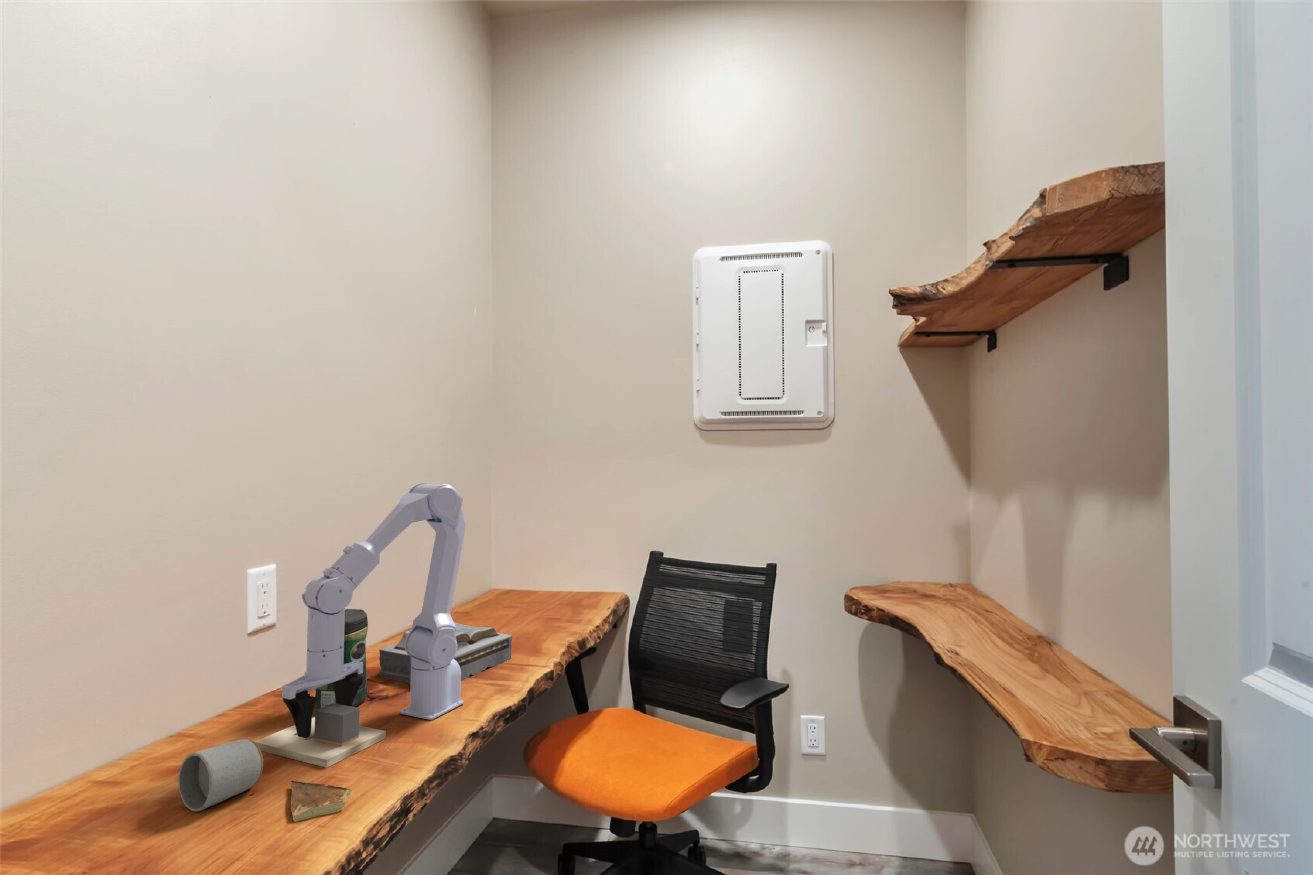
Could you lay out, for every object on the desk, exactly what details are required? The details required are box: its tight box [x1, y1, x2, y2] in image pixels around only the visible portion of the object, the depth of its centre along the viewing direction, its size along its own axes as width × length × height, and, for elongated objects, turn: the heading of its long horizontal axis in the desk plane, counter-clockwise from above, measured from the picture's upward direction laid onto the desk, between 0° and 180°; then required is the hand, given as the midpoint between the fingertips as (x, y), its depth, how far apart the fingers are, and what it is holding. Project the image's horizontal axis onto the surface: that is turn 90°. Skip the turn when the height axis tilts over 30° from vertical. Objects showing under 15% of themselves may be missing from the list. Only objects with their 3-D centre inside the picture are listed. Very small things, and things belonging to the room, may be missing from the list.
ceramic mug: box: [177, 738, 264, 812], centre depth 93 cm, size 11×8×8 cm
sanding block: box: [314, 703, 361, 746], centre depth 109 cm, size 4×6×5 cm, turn 71°
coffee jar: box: [314, 608, 369, 710], centre depth 128 cm, size 10×8×19 cm
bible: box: [378, 621, 513, 684], centre depth 152 cm, size 23×27×10 cm
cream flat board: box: [253, 716, 387, 768], centre depth 110 cm, size 12×17×1 cm
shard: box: [290, 780, 352, 823], centre depth 92 cm, size 11×8×2 cm
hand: (323, 727), depth 110 cm, fingers open, 7 cm apart
